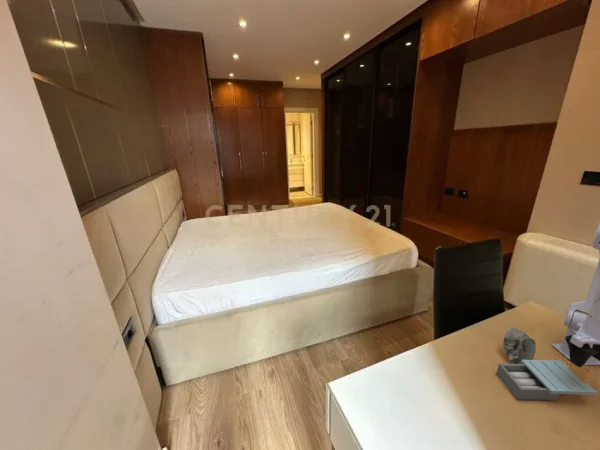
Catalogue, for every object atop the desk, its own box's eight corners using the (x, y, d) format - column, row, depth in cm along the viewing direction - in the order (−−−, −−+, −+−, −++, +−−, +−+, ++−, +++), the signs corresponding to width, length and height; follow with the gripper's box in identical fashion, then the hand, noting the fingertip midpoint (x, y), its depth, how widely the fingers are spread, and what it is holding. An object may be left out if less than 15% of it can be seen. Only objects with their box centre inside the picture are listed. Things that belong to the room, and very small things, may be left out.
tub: (530, 374, 73) (534, 364, 72) (556, 401, 65) (560, 390, 64) (496, 373, 73) (499, 363, 72) (517, 400, 66) (521, 389, 65)
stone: (540, 341, 72) (512, 318, 81) (508, 358, 74) (485, 333, 84) (553, 359, 74) (524, 334, 84) (522, 375, 77) (497, 349, 86)
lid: (562, 363, 72) (567, 351, 71) (598, 394, 63) (604, 382, 61) (520, 362, 73) (524, 350, 71) (550, 393, 64) (555, 381, 62)
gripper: (604, 305, 66) (587, 344, 70) (563, 313, 63) (547, 354, 67) (644, 323, 59) (622, 365, 63) (600, 333, 56) (580, 376, 61)
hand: (586, 361), depth 65 cm, fingers open, 7 cm apart
